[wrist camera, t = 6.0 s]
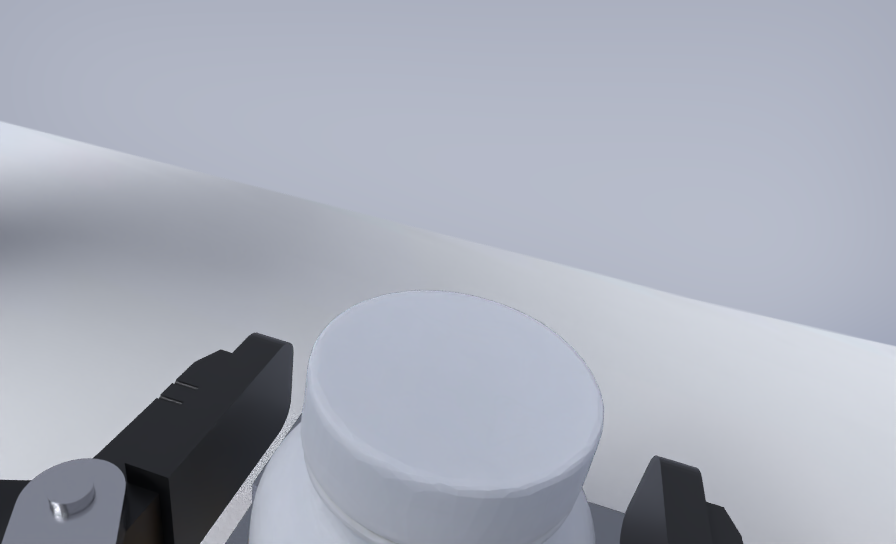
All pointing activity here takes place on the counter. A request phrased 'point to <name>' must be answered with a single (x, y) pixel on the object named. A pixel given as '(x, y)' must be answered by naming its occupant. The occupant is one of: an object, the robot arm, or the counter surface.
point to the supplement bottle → (435, 431)
